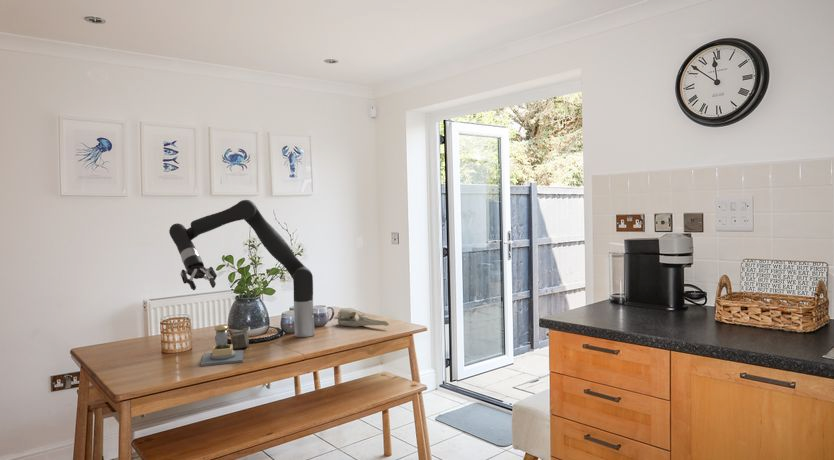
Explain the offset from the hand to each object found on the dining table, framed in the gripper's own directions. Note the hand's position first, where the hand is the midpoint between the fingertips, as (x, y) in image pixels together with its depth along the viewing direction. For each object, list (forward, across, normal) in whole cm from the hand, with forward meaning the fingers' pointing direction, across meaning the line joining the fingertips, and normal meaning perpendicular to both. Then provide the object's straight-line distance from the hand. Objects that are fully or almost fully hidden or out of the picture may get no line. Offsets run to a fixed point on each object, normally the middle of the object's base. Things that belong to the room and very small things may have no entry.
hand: (204, 287), depth 234 cm
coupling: (+29, 0, +8) cm, 30 cm away
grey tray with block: (+31, 0, +10) cm, 32 cm away
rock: (+21, +16, +20) cm, 33 cm away
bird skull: (+31, +77, +10) cm, 84 cm away
